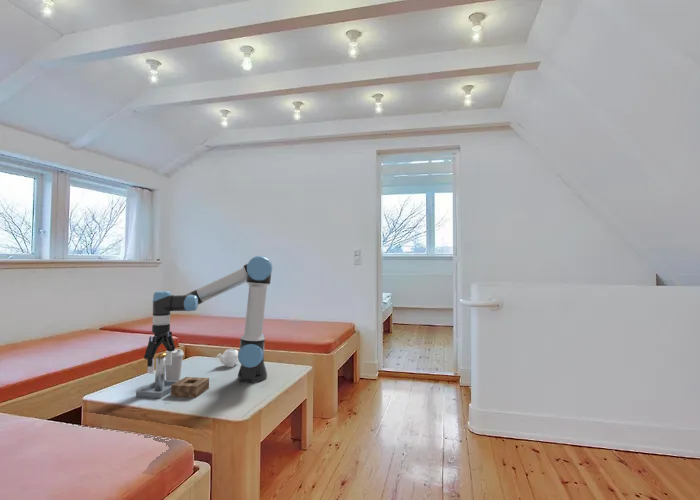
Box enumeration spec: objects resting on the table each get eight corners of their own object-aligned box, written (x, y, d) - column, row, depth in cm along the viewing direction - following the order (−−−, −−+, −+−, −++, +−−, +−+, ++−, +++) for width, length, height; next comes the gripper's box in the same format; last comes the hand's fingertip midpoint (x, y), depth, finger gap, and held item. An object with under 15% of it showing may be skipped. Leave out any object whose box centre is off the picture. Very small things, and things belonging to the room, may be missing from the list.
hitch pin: (167, 388, 174) (169, 352, 175) (161, 392, 169) (162, 355, 170) (157, 388, 175) (159, 352, 175) (151, 391, 170) (152, 354, 170)
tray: (180, 386, 179) (181, 381, 179) (160, 398, 163) (160, 392, 163) (158, 385, 180) (158, 380, 181) (135, 397, 165) (136, 391, 165)
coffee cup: (175, 384, 182) (175, 353, 183) (158, 382, 184) (159, 352, 185) (187, 378, 192) (188, 349, 192) (171, 376, 194) (172, 348, 194)
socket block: (208, 388, 177) (209, 378, 177) (196, 397, 165) (196, 386, 165) (185, 387, 178) (185, 376, 178) (171, 396, 166) (171, 385, 166)
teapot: (210, 367, 211) (211, 351, 211) (240, 360, 226) (241, 345, 226) (219, 371, 204) (219, 354, 205) (249, 363, 220) (250, 348, 220)
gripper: (169, 319, 186) (168, 361, 185) (135, 328, 161) (134, 376, 160) (183, 319, 185) (182, 362, 184) (151, 328, 160) (150, 377, 159)
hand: (160, 369), depth 172 cm, fingers open, 13 cm apart
